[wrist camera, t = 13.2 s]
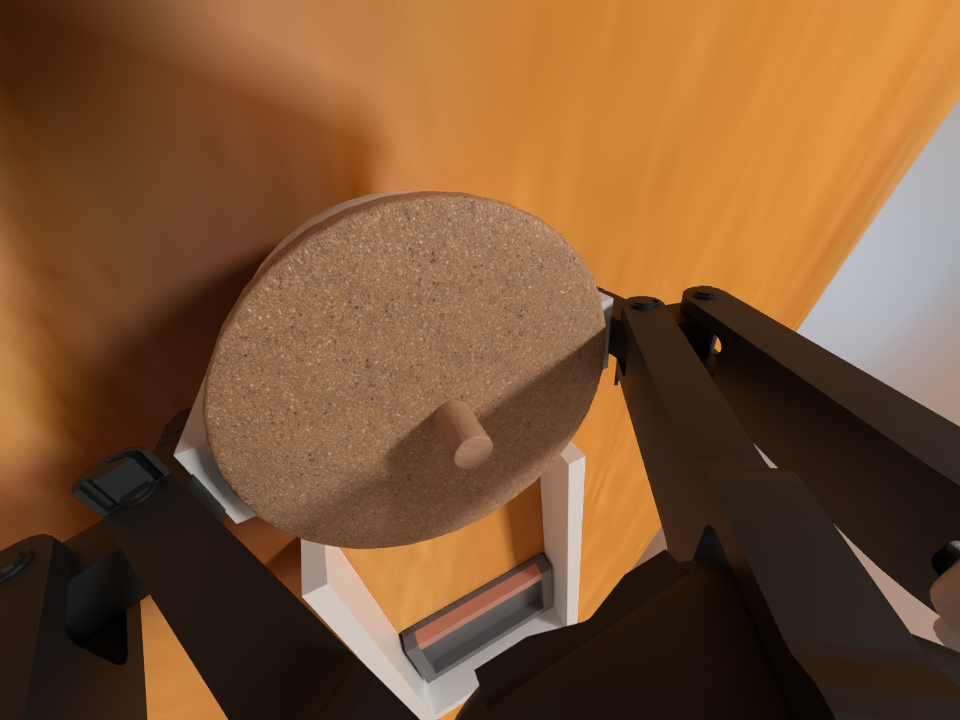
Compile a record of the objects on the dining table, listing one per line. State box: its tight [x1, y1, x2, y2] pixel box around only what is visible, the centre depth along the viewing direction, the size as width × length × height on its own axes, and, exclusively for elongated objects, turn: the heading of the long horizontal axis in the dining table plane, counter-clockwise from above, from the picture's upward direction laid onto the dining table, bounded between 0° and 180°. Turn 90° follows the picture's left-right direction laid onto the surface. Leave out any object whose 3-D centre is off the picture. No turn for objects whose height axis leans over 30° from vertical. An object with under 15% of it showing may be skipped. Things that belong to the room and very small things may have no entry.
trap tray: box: [402, 553, 553, 684], centre depth 32 cm, size 8×13×2 cm, turn 99°
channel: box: [301, 441, 585, 720], centre depth 28 cm, size 26×16×4 cm, turn 9°
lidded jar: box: [202, 190, 606, 549], centre depth 12 cm, size 11×11×9 cm
